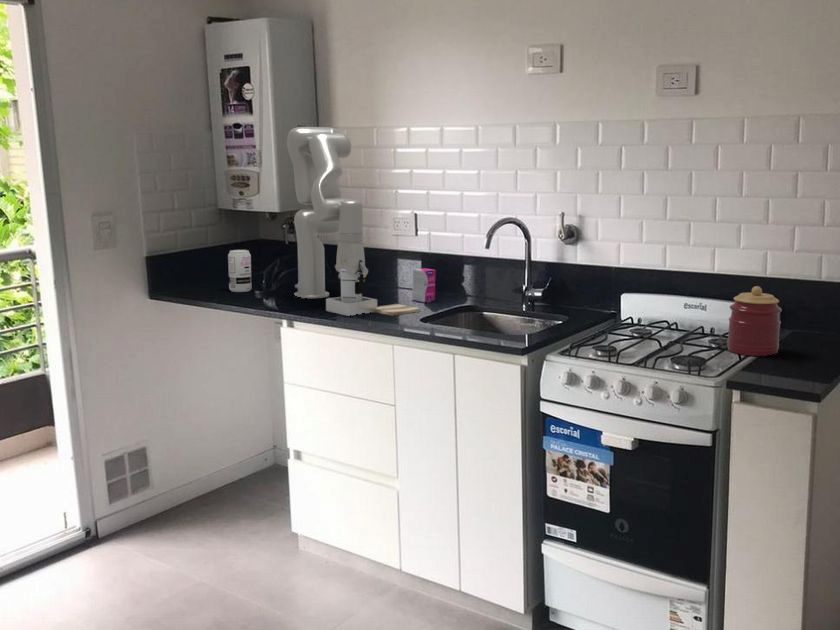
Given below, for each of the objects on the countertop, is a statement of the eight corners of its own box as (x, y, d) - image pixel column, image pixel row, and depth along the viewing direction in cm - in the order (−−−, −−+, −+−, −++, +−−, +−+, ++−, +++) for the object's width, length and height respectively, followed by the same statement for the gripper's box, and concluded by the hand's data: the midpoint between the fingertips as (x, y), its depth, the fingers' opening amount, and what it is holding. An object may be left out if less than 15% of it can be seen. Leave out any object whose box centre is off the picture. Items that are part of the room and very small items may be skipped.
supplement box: (423, 303, 308) (423, 270, 306) (412, 301, 312) (412, 269, 310) (435, 301, 312) (435, 269, 309) (424, 299, 316) (424, 267, 314)
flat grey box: (313, 307, 298) (313, 296, 298) (342, 303, 306) (342, 292, 305) (348, 315, 284) (347, 303, 283) (377, 311, 292) (377, 299, 291)
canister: (788, 353, 236) (793, 287, 232) (759, 359, 228) (764, 291, 225) (745, 344, 246) (750, 281, 243) (716, 350, 239) (720, 285, 235)
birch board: (369, 310, 293) (369, 307, 293) (397, 306, 301) (397, 303, 301) (392, 315, 285) (392, 312, 284) (420, 311, 292) (420, 308, 292)
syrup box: (358, 313, 289) (357, 269, 286) (340, 312, 290) (340, 268, 287) (362, 310, 295) (362, 266, 292) (345, 309, 296) (345, 266, 293)
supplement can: (233, 288, 338) (232, 249, 335) (254, 289, 337) (253, 249, 334) (226, 292, 330) (224, 251, 327) (247, 292, 329) (246, 252, 326)
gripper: (325, 237, 292) (326, 290, 295) (358, 241, 279) (358, 296, 282) (344, 235, 297) (344, 287, 300) (376, 239, 284) (377, 294, 287)
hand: (351, 291), depth 291 cm, fingers closed on syrup box, 7 cm apart
